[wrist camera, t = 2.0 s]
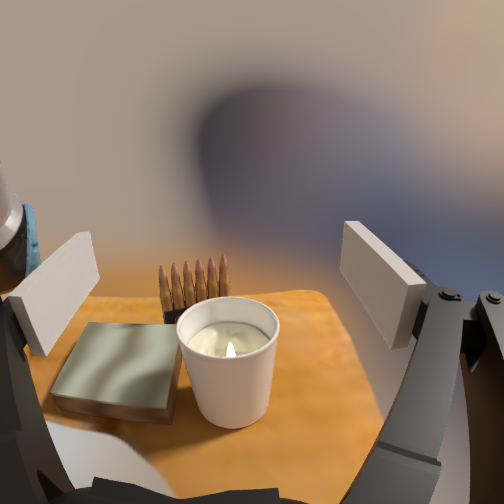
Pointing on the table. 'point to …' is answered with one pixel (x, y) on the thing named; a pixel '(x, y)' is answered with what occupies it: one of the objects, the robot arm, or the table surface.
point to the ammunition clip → (191, 288)
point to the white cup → (229, 358)
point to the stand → (122, 373)
